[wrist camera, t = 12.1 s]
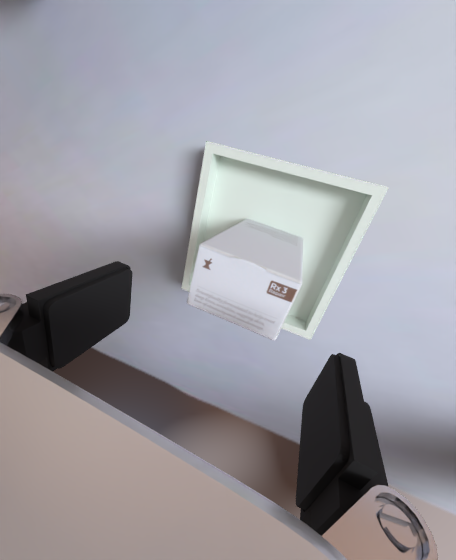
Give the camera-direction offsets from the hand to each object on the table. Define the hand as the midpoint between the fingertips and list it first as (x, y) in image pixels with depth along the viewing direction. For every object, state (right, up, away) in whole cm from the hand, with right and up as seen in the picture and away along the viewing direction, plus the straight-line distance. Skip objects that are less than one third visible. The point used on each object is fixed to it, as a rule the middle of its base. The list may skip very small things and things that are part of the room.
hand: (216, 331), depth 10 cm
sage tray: (+5, +6, +14) cm, 16 cm away
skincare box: (+5, +6, +14) cm, 16 cm away
